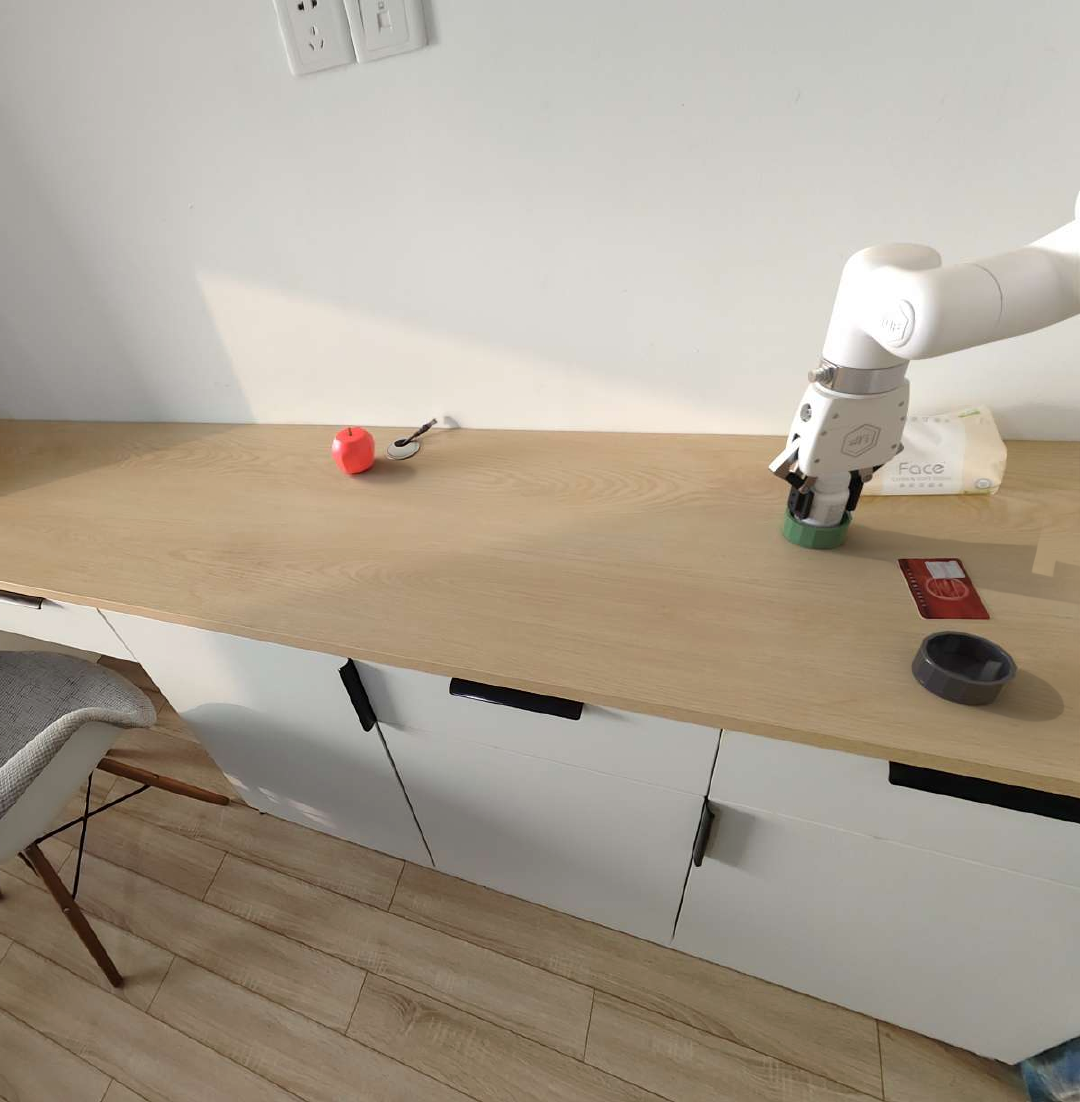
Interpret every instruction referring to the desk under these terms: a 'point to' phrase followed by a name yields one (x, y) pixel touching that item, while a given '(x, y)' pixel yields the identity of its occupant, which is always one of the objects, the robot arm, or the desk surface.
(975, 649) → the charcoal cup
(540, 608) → the desk surface
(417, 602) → the desk surface
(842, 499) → the pill bottle
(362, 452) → the apple
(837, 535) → the green round container
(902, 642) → the desk surface
